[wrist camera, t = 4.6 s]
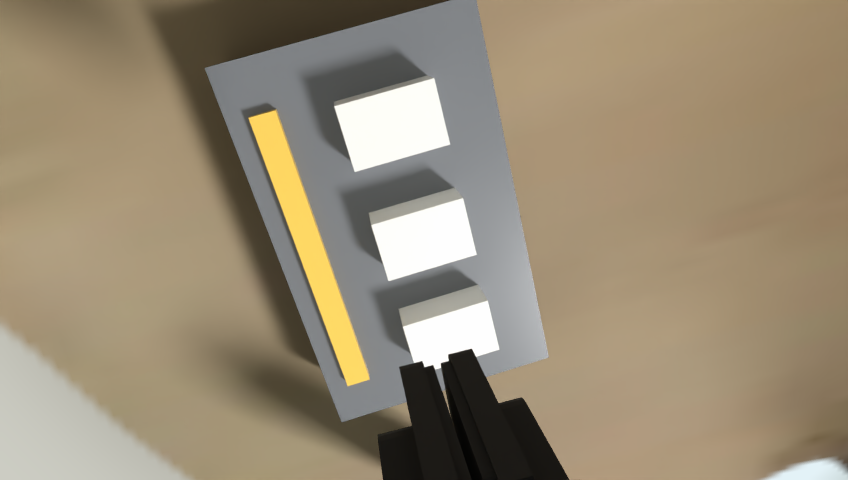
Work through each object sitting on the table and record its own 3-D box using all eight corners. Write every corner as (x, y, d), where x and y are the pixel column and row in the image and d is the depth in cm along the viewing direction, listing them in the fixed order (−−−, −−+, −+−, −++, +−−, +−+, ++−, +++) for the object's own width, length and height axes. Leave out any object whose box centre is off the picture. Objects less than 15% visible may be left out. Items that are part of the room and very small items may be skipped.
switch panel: (225, 63, 23) (194, 69, 18) (452, 1, 24) (486, -11, 19) (340, 373, 29) (342, 446, 24) (521, 317, 30) (561, 376, 24)
